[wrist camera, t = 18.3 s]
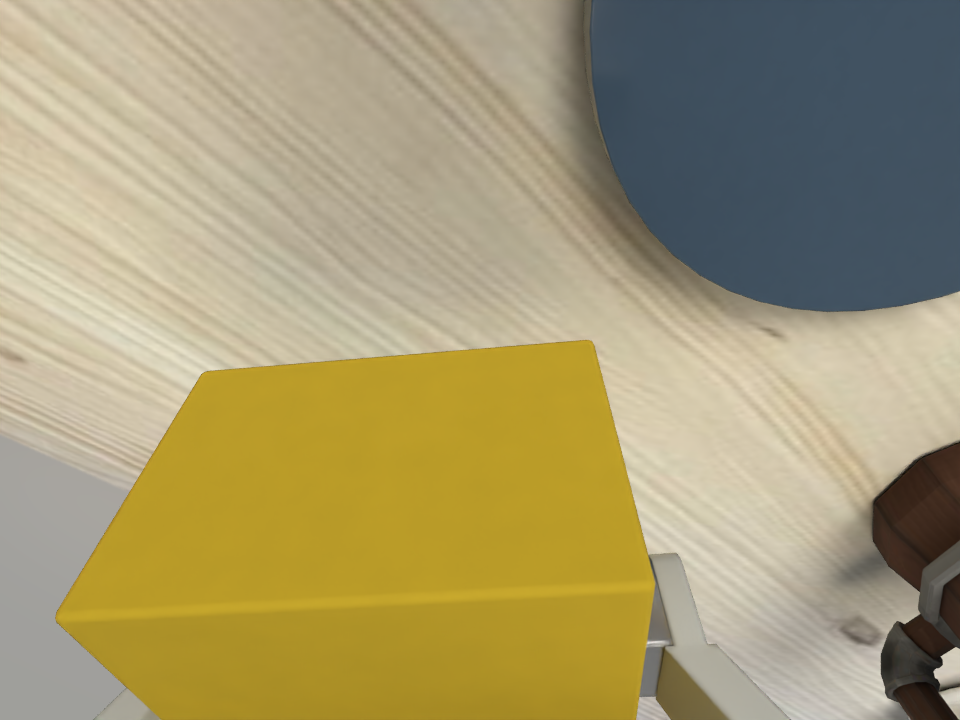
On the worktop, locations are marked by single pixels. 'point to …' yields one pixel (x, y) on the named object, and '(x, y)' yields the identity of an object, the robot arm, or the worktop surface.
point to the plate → (788, 141)
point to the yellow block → (380, 546)
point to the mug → (922, 579)
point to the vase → (952, 700)
